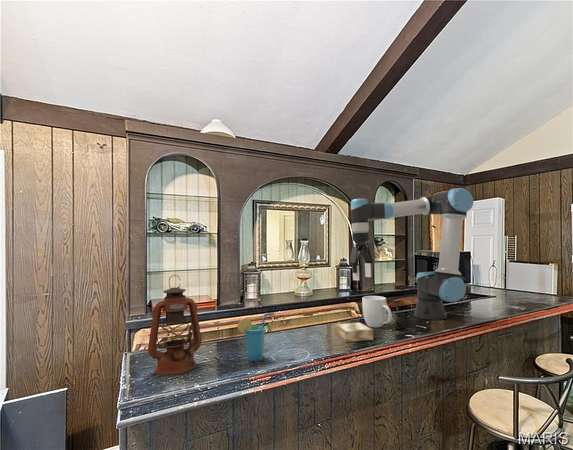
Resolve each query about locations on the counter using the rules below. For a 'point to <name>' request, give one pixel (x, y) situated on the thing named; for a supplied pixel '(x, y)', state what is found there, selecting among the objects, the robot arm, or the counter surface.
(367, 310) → the mug
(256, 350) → the cup
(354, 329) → the pedestal
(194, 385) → the counter surface
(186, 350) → the lantern
